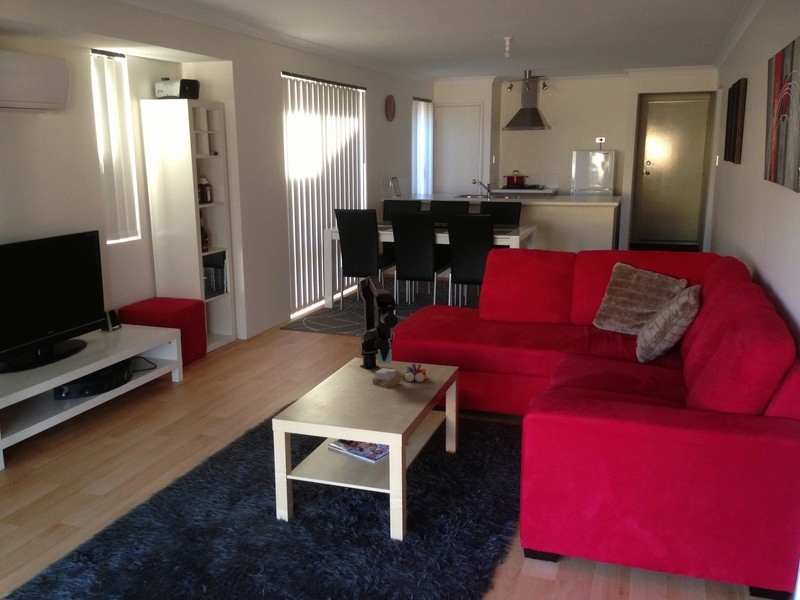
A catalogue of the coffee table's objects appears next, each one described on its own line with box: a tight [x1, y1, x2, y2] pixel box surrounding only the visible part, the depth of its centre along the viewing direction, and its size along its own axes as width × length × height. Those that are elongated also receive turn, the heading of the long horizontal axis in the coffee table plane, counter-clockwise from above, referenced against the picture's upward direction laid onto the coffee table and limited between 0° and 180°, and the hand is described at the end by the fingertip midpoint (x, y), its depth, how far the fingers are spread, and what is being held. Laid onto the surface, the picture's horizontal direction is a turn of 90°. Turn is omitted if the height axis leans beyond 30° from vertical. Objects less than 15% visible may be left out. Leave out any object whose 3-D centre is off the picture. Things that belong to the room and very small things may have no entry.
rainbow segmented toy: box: [403, 362, 428, 383], centre depth 299 cm, size 8×10×7 cm
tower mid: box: [374, 367, 397, 381], centre depth 294 cm, size 6×6×3 cm
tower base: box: [372, 376, 401, 389], centre depth 294 cm, size 8×8×3 cm
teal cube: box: [377, 348, 392, 364], centre depth 292 cm, size 5×5×5 cm
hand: (384, 359), depth 293 cm, fingers closed on teal cube, 5 cm apart
